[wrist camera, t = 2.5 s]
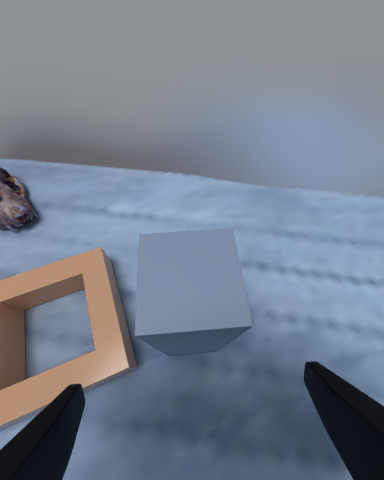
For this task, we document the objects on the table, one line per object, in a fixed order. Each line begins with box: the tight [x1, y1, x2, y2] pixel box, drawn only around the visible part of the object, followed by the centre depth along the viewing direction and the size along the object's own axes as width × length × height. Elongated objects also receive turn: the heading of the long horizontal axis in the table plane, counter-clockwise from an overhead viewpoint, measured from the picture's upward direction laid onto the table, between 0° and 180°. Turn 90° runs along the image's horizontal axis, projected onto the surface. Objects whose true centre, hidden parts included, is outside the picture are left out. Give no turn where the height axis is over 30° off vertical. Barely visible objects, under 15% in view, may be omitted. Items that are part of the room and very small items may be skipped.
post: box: [135, 229, 253, 356], centre depth 14 cm, size 4×4×13 cm
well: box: [0, 247, 138, 430], centre depth 18 cm, size 10×10×3 cm
